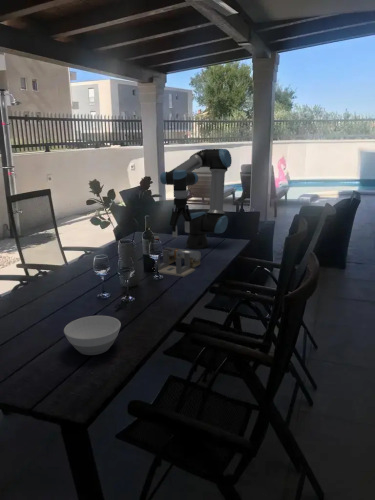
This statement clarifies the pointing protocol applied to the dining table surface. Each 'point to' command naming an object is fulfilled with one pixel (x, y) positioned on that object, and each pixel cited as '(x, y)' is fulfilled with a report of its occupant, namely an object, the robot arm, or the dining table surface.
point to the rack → (192, 263)
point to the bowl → (92, 334)
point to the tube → (180, 253)
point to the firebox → (174, 270)
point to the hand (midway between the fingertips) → (181, 234)
